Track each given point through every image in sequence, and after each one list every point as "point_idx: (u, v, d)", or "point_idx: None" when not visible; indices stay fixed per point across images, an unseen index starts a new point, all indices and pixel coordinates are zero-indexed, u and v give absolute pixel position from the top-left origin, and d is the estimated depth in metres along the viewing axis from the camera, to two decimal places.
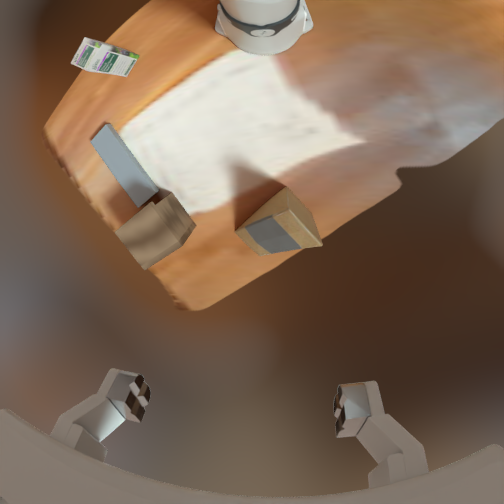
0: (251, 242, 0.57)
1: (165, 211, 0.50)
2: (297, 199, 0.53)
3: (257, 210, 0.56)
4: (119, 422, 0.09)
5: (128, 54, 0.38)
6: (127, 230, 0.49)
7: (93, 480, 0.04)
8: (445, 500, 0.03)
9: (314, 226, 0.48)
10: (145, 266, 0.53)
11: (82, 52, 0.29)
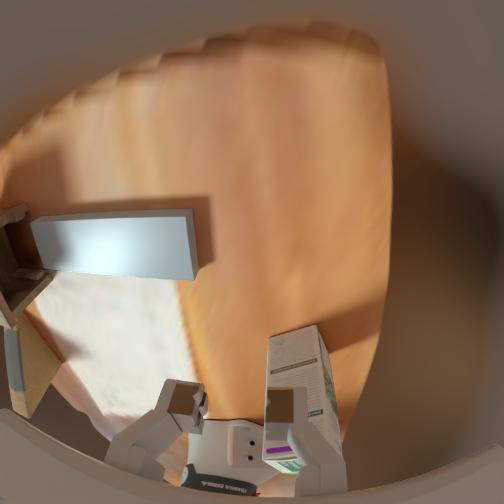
0: None
1: None
2: None
3: (37, 334, 0.35)
4: (176, 436, 0.08)
5: None
6: None
7: (93, 480, 0.04)
8: (445, 500, 0.03)
9: None
10: None
11: None
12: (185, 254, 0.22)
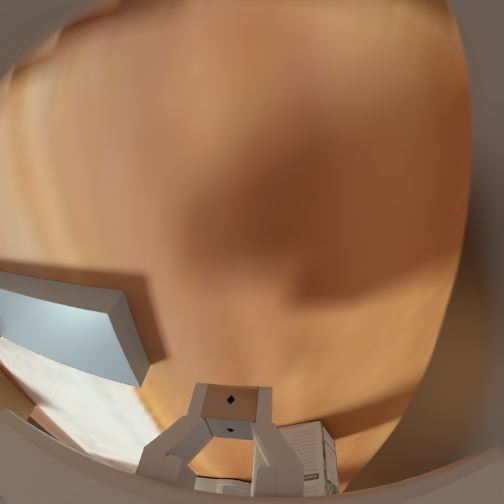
0: None
1: None
2: None
3: (4, 376, 0.25)
4: (207, 441, 0.08)
5: None
6: None
7: (93, 480, 0.04)
8: (444, 500, 0.03)
9: None
10: None
11: None
12: (120, 359, 0.13)
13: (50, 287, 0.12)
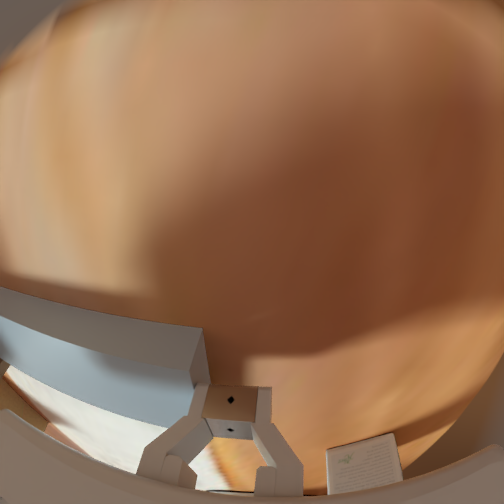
0: None
1: None
2: None
3: (13, 392, 0.22)
4: (207, 441, 0.08)
5: None
6: None
7: (93, 480, 0.04)
8: (445, 500, 0.03)
9: None
10: None
11: None
12: None
13: (86, 325, 0.10)
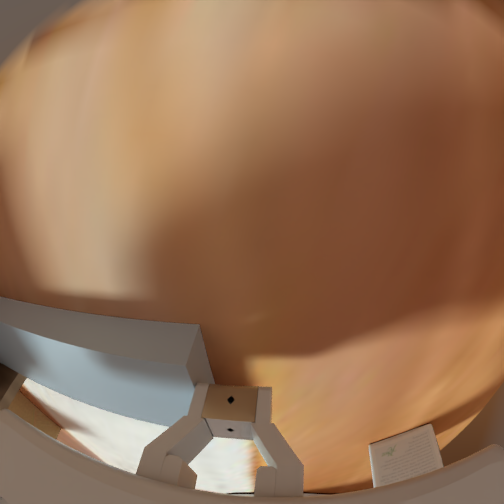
0: None
1: None
2: None
3: (23, 397, 0.22)
4: (207, 441, 0.08)
5: None
6: None
7: (93, 480, 0.04)
8: (445, 500, 0.03)
9: None
10: None
11: None
12: None
13: (87, 327, 0.10)
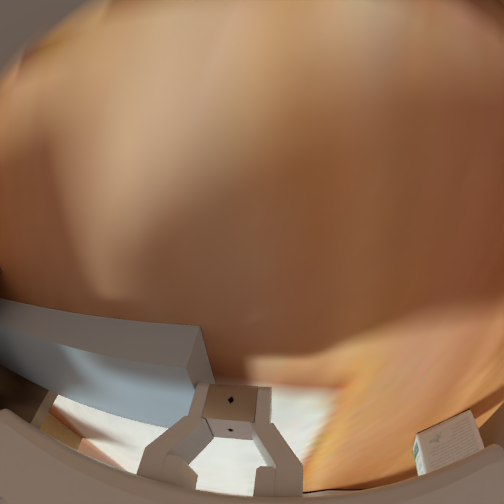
0: None
1: None
2: None
3: None
4: (208, 441, 0.08)
5: None
6: None
7: (93, 480, 0.04)
8: (444, 500, 0.03)
9: None
10: None
11: None
12: None
13: (87, 329, 0.10)
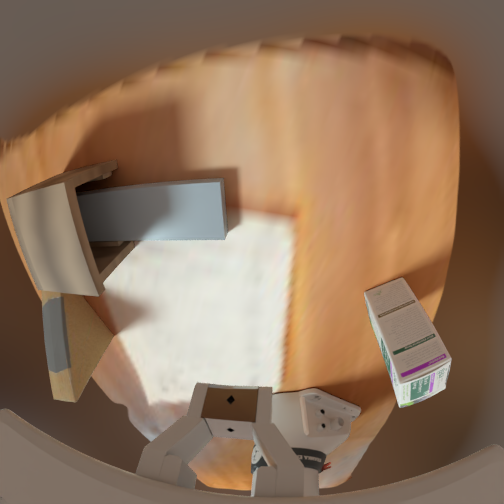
0: None
1: None
2: None
3: (85, 301, 0.37)
4: (207, 441, 0.08)
5: (378, 342, 0.29)
6: (62, 218, 0.19)
7: (93, 480, 0.04)
8: (445, 500, 0.03)
9: None
10: (10, 206, 0.18)
11: (431, 385, 0.19)
12: (218, 215, 0.26)
13: (172, 182, 0.26)
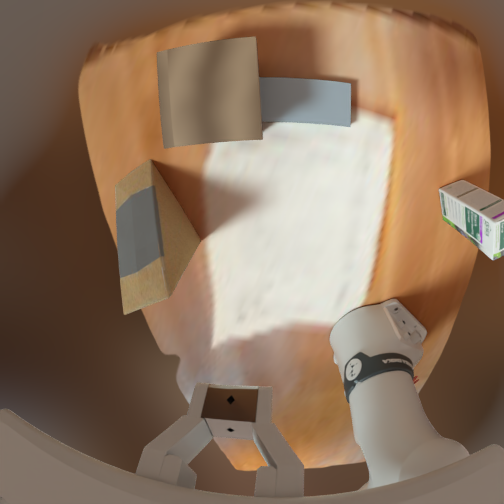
0: (132, 185, 0.36)
1: None
2: None
3: (174, 198, 0.39)
4: (207, 441, 0.08)
5: (456, 227, 0.32)
6: (243, 63, 0.21)
7: (93, 480, 0.04)
8: (445, 500, 0.03)
9: None
10: (162, 58, 0.21)
11: None
12: (347, 107, 0.29)
13: None
